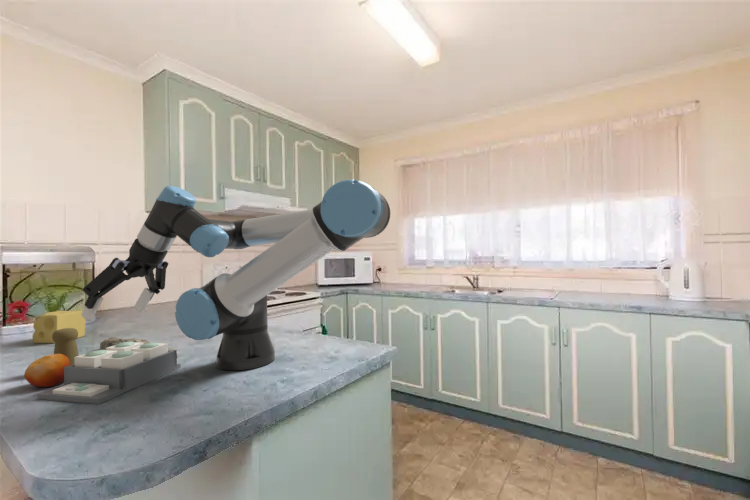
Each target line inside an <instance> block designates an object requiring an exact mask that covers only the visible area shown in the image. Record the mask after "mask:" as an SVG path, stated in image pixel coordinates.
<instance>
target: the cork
mask: <svg viewBox="0 0 750 500" xmlns="http://www.w3.org/2000/svg"><path fill="white" fill-rule="evenodd" d="M77 337H78V331H77V330H76V329H75V328H64V329H60V330H57V331H55V332H54V333H53V335H52V339H53V341H54V342H55V343H54V348H53V349H54V350H53V354H63V355H65V356H67V357H68V359H69V361H70V364H71V365H73V364H75V359H74V357H76V356H80V354H79V350H78V345H77V341H76V340H77V339H78V338H77Z"/></svg>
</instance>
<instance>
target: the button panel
mask: <svg viewBox="0 0 750 500" xmlns="http://www.w3.org/2000/svg"><path fill="white" fill-rule="evenodd" d="M177 351H178V350H177V349H174V350H168V352H167V353H164V354H162V355H159V356H156V357H154V358H151V359H143V362H140V363H138V364H135V365H132V366H129V367H127V368H124V369H111V368H101V366H98V367H95V368H94V367H76V366H75V364H73V365H70V366H66V367H64V382H63V383H64V384H63V385H61V386H57V387H54V388H52V389H49V390H45V391H43V392H41V393H38V394H37V399H38V400H47V401H48V400H49V401H57V402H68V403H69V402H70V403H71V402H72V403H85V404H95V405H101V404H103V403H104V402H106V401H109V400H112V399H113V398H116V397H118V396H120V395H123V394H124V393H127V392H129V391H132V390H133V389H136V388H138V387H140V386H142V385H145V384H147V383H149V382H151V381H154V380H157V379H158V378H160V377H163V376H165V375H167V374H169V373H171V372H175V371H176V370H178V369H180V368H181V366H182V365H181V363H178V361H177V360H178V357H177V356H178V353H177Z"/></svg>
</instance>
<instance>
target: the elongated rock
mask: <svg viewBox="0 0 750 500" xmlns="http://www.w3.org/2000/svg"><path fill="white" fill-rule="evenodd" d="M123 342H140V343H144V344H146V343H150V342H149V340H147V339H143V338H139V337H138V338H136V337H133V338H118V337H109V338H108V339H104V340H102V341H101V342H100V344H99V345H100V346H99V348H100V349H99V350H106V348H107V347H111V346H114V345H116V344H118V343H123ZM168 350H175V349H174V348H171V347H168ZM177 358H178V355H177Z"/></svg>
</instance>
